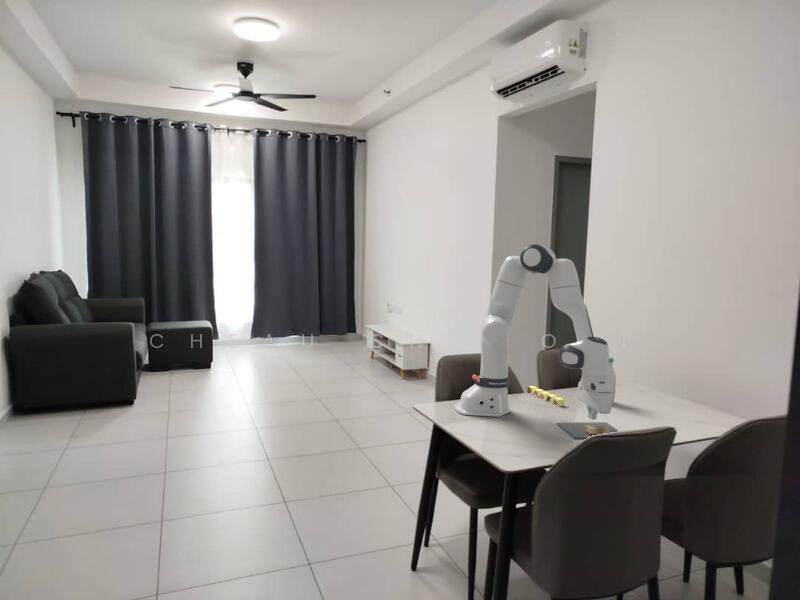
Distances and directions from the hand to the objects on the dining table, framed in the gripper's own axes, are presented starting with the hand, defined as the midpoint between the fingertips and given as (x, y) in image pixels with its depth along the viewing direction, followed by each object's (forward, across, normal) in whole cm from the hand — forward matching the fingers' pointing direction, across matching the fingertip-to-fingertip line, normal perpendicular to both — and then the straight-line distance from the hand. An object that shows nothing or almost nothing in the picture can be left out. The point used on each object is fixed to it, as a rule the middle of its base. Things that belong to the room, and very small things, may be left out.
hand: (591, 418), depth 202 cm
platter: (+5, -41, -3) cm, 41 cm away
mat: (+5, 0, 0) cm, 5 cm away
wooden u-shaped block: (+3, +1, 0) cm, 3 cm away
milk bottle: (+5, -37, +24) cm, 44 cm away
